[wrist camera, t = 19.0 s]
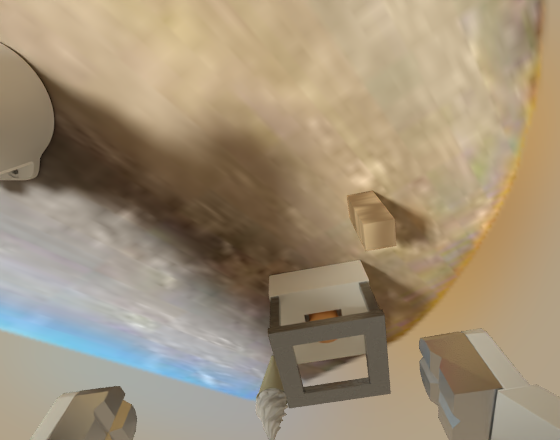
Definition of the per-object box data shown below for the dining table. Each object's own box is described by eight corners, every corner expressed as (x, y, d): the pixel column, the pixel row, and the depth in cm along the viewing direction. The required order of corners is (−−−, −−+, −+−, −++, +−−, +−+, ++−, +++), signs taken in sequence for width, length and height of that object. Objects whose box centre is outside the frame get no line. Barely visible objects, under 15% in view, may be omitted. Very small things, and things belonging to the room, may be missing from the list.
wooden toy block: (349, 218, 46) (365, 251, 38) (346, 195, 44) (363, 224, 36) (374, 213, 45) (396, 245, 37) (372, 190, 44) (394, 218, 36)
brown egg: (310, 321, 52) (313, 345, 48) (305, 299, 50) (308, 323, 46) (337, 316, 52) (343, 340, 47) (333, 295, 50) (339, 317, 45)
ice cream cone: (252, 354, 57) (245, 444, 43) (275, 341, 56) (276, 430, 42) (269, 370, 59) (268, 462, 45) (292, 358, 57) (298, 448, 44)
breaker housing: (286, 341, 56) (287, 365, 51) (269, 275, 50) (268, 296, 45) (367, 328, 55) (375, 352, 50) (359, 259, 49) (368, 279, 44)
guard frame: (287, 365, 51) (289, 408, 45) (268, 296, 45) (267, 334, 39) (375, 352, 50) (390, 393, 44) (368, 279, 44) (384, 315, 38)
